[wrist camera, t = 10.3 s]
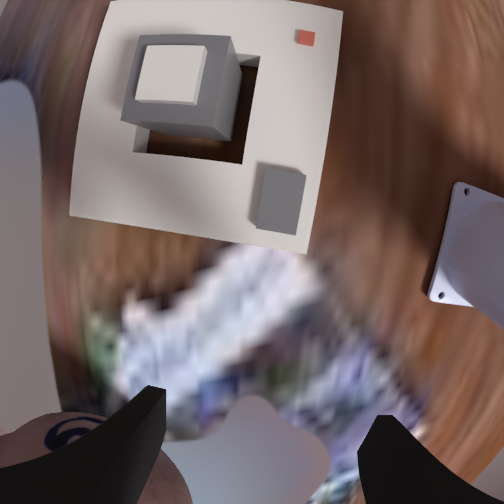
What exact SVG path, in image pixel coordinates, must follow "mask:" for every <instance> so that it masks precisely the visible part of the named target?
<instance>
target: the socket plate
mask: <svg viewBox="0 0 504 504" xmlns="http://www.w3.org/2000/svg"><path fill="white" fill-rule="evenodd" d="M342 19H343V11H339V10H335V9H331V8H326V7H322V6H317V5H312V4H306V3H300V2H294V1H288V0H118V1H111V2H110V5H109V8H108V11H107V14H106V17H105V19H104V22H103V26H102V29H101V32H100V35H99V38H98V42H97V45H96V49H95V52H94V56H93V60H92V63H91V67H90V71H89V75H88V80H87V84H86V89H85V93H84V98H83V103H82V108H81V114H80V119H79V125H78V132H77V138H76V146H75V153H74V162H73V171H72V182H71V195H70V213H69V215H70V216H76V217H82V218H89V219H95V220H101V221H107V222H114V223H120V224H126V225H132V226H138V227H144V228H151V229H157V230H163V231H169V232H175V233H181V234H187V235H193V236H199V237H205V238H211V239H217V240H223V241H229V242H235V243H241V244H247V245H253V246H259V247H265V248H271V249H277V250H283V251H289V252H294V253H300V254H306V253H307V248H308V243H309V238H310V233H311V228H312V223H313V218H314V213H315V207H316V202H317V196H318V191H319V185H320V180H321V174H322V168H323V162H324V156H325V150H326V144H327V137H328V131H329V124H330V117H331V110H332V103H333V96H334V89H335V81H336V73H337V65H338V56H339V48H340V38H341V29H342ZM160 34H202V35H223V36H231V39H232V42H233V45H234V49H235V52H236V55H237V59H238V62H239V65H243V66H252V67H259V68H258V73H257V79H256V85H255V90H254V96H253V102H252V108H251V114H250V119H249V125H248V131H247V137H246V143H245V149H244V156H243V162H242V165H241V164H234V163H227V162H220V161H212V160H204V159H196V158H188V157H178V156H169V155H159V154H148V153H146V152H147V146H148V139H149V133H150V130H149V129H146V128H143V127H140V126H136V125H133V124H130V123H127V122H124V121H120V120H121V114H122V109H123V104H124V99H125V94H126V89H127V84H128V80H129V75H130V71H131V67H132V63H133V59H134V55H135V51H136V47H137V44H138V40H139V36H140V35H160Z"/></svg>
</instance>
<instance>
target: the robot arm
mask: <svg viewBox="0 0 504 504" xmlns="http://www.w3.org/2000/svg"><path fill="white" fill-rule="evenodd" d="M465 188H466V190H467V193H466V195H465V194H464V190H465ZM441 292H442V295H441V296H440V297H438V295H439V293H441ZM427 295H428V298H429V299H430V300H431V301H433V302H440V303H447V304H455V305H462V306H470V307H475V308H476V309H478V310H479V311H480V312H481V313H483V314H484V315H485V316H487V317H488V318H489V319H490V320H492V321H493V322H494V323H495V324H497V325H498V326H499V327H500V328H502V329H503V330H504V198H501V197H499V196H497V195H494V194H492V193H489V192H487V191H484V190H482V189H479V188H476V187H474V186H471V185H468V184H466V183H463V182H456V183H455V184H454V186H453V190H452V196H451V202H450V207H449V212H448V217H447V221H446V226H445V230H444V235H443V239H442V243H441V247H440V251H439V255H438V259H437V262H436V266H435V270H434V273H433V277H432V280H431V283H430V287H429V290H428V294H427ZM165 432H166V389H162V388H158V387H154V386H150V385H148V386H146V387H145V388H144V389H143V390H142V391H140V392H139V393H138V394H137V395H136V396H135V397H134V398H133V399H132V400H130V401H129V402H128V403H127V404H126V405H125V406H123V407H122V408H121V409H120V410H118V411H117V412H116V413H115V414H113V415H112V416H111V417H109V418H108V419H107V420H105V421H104V422H103V423H101V424H100V425H98V426H97V427H95V428H94V429H92V430H91V431H89V432H88V433H86V434H85V435H83V436H81V437H80V438H78V439H76V440H75V441H73V442H71V443H69V444H67V445H65V446H63V447H61V448H59V449H57V450H55V451H52V452H50V453H48V454H45V455H43V456H40V457H38V458H35V459H32V460H29V461H25V462H22V463H18V464H15V465H11V466H7V467H2V468H0V504H137V502H138V500H139V497H140V495H141V493H142V491H143V488H144V486H145V484H146V482H147V480H148V477H149V475H150V473H151V471H152V468H153V466H154V464H155V462H156V459H157V457H158V455H159V452H160V449H161V446H162V442H163V439H164V435H165ZM357 455H358V467H359V475H360V480H361V484H362V488H363V493H364V497H365V501H366V504H504V502H503V501H500V500H498V499H496V498H494V497H492V496H489V495H487V494H485V493H484V492H482V491H480V490H478V489H476V488H474V487H473V486H471V485H470V484H468V483H467V482H465V481H464V480H463V479H461V478H460V477H458V476H457V475H456V474H454V473H453V472H452V471H450V470H449V469H448V468H447V467H446V466H444V465H443V464H442V463H441V462H440V461H439V460H438V459H436V458H435V457H434V456H433V455H432V454H431V453H430V452H429V451H428V450H427V449H426V448H425V447H424V446H423V445H422V444H421V443H420V442H419V441H418V440H417V439H416V438H415V437H414V436H413V435H412V434H411V433H410V432H409V431H408V430H407V429H406V428H405V427H404V426H403V425H402V424H401V423H400V422H399V421H398V420H397V419H396V418H395V417H394V416H393V415H377V417H376V419H375V421H374V423H373V424H372V426H371V428H370V430H369V432H368V434H367V435H366V437H365V439H364V441H363V443H362V444H361V446H360V448H359V450H358V451H357Z"/></svg>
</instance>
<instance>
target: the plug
mask: <svg viewBox="0 0 504 504" xmlns="http://www.w3.org/2000/svg"><path fill="white" fill-rule="evenodd" d="M242 80H243V75H242V72H241V69H240V65H239V62H238V59H237V55H236V52H235V49H234V45H233V42H232V39H231V36H223V35H202V34H160V35H140V36H139V40H138V44H137V47H136V51H135V55H134V59H133V63H132V67H131V71H130V75H129V80H128V84H127V89H126V94H125V99H124V104H123V109H122V114H121V120H120V121H124V122H127V123H130V124H133V125H136V126H140V127H143V128H146V129H149V130H152V131H155V132H158V133H161V134H164V135H171V136H182V137H193V138H202V139H211V140H219V141H227V142H232V137H233V131H234V126H235V120H236V114H237V108H238V103H239V97H240V91H241V86H242Z"/></svg>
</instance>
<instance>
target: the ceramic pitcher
mask: <svg viewBox="0 0 504 504" xmlns="http://www.w3.org/2000/svg"><path fill="white" fill-rule="evenodd" d="M107 419H108V418H107V417H103V416H99V415H97V414H89V413H81V412H60V413H51V414H46V415H43V416H41V417H38V418H35V419H33V420H31V421H30V422H28V423H26V424H24V425H23V426H21V427H20V428H18V429H17V430H16V431H14V432H12V433H9V434H5V435H1V436H0V468H2V467H7V466H11V465H15V464H18V463H22V462H25V461H29V460H32V459H35V458H38V457H40V456H43V455H45V454H48V453H50V452H52V451H55V450H57V449H59V448H61V447H63V446H65V445H67V444H69V443H71V442H73V441H75V440H76V439H78V438H80V437H81V436H83V435H85V434H86V433H88V432H89V431H91V430H92V429H94V428H95V427H97V426H98V425H100V424H101V423H103V422H104V421H105V420H107ZM137 504H193V502H192V499H191V495H190V492H189V489H188V486H187V484H186V482H185V480H184V478H183V476H182V475H181V473H180V471H179V470H178V469H177V467H176V466H175V464H174V463H173V462H172V461H171V459H170V458H169V457H168V456H167V455H166V454H165V453H164V452H163V451H162V450H161V449H160V452H159V455H158V457H157V459H156V462H155V464H154V466H153V468H152V471H151V473H150V475H149V477H148V480H147V482H146V484H145V486H144V488H143V491H142V493H141V495H140V497H139V500H138V502H137Z"/></svg>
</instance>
